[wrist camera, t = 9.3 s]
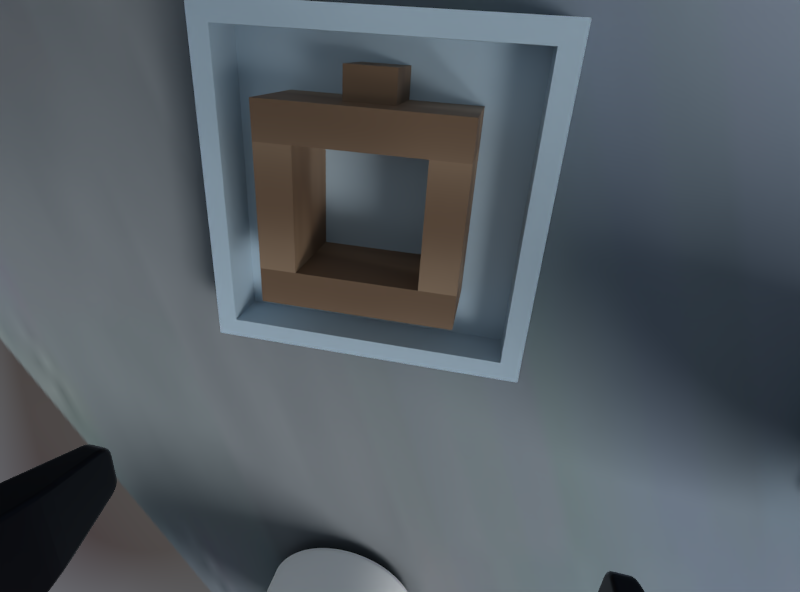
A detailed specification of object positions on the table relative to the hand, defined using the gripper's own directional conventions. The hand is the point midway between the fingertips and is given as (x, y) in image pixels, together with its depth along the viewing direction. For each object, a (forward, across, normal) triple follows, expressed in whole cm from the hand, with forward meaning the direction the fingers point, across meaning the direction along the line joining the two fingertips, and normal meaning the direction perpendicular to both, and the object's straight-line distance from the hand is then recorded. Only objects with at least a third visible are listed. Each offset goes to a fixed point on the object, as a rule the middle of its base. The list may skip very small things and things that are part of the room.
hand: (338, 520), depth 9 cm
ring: (+11, +2, -3) cm, 12 cm away
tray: (+12, +2, -3) cm, 12 cm away
